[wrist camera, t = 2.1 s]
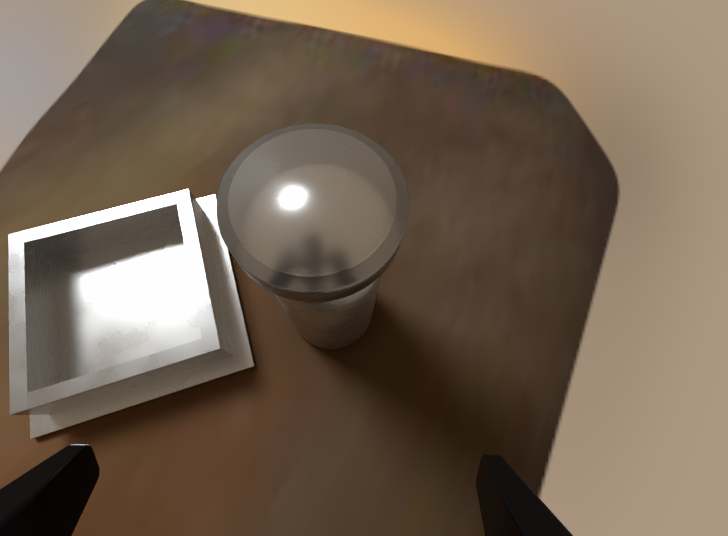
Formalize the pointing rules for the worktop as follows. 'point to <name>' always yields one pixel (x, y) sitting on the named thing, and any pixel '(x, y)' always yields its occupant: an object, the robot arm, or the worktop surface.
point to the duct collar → (120, 310)
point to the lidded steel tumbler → (315, 225)
